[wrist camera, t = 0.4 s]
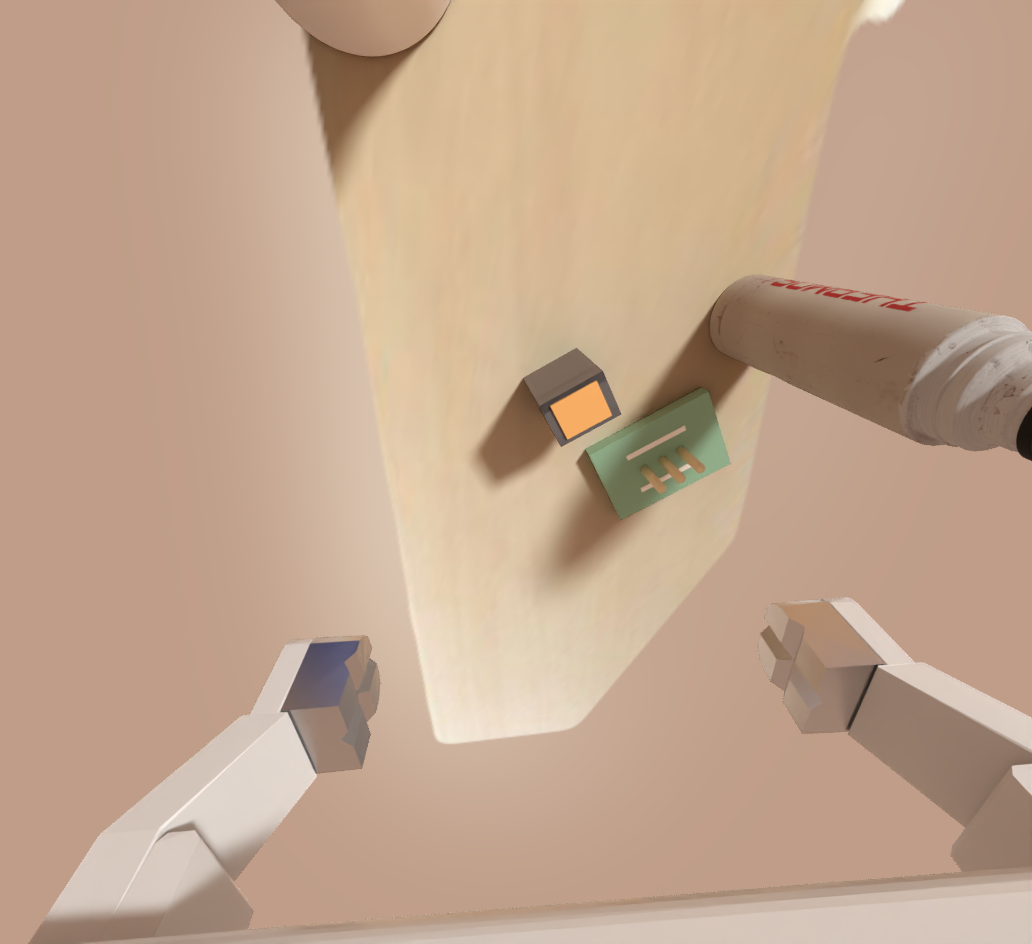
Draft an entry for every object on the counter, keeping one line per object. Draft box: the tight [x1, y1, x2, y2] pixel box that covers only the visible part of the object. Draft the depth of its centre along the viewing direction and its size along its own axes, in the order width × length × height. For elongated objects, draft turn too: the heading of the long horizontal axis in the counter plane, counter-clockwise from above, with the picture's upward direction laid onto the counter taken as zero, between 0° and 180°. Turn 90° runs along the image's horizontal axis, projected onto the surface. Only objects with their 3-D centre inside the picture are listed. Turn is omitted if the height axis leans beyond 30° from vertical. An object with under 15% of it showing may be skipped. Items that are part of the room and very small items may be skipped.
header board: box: [585, 387, 731, 520], centre depth 50 cm, size 14×10×6 cm
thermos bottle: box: [710, 275, 1032, 461], centre depth 35 cm, size 8×8×28 cm
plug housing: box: [523, 348, 621, 447], centre depth 43 cm, size 6×4×8 cm
